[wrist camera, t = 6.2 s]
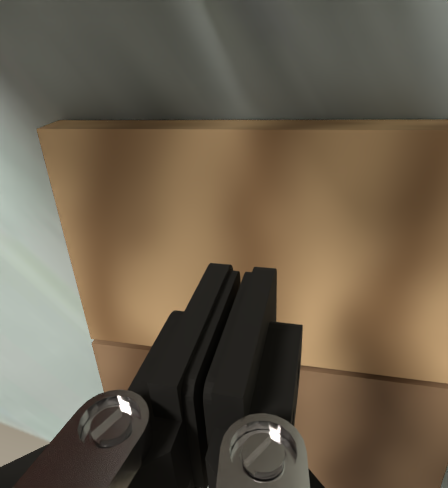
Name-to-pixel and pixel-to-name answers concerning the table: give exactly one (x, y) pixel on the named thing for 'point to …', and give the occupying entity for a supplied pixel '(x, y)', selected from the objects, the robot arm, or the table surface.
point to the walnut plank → (344, 421)
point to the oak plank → (264, 228)
